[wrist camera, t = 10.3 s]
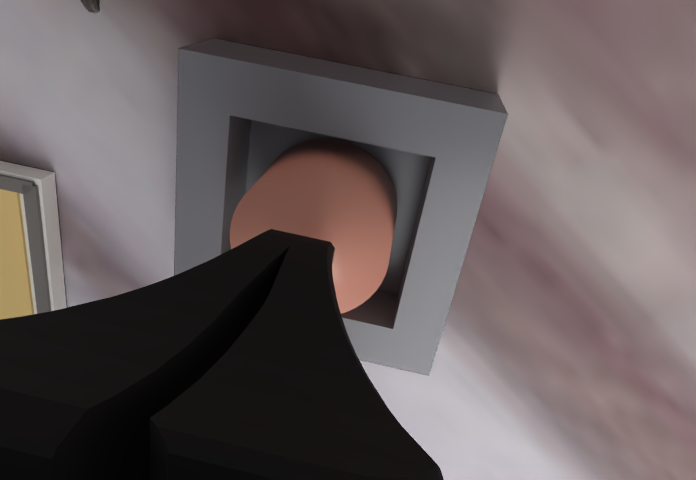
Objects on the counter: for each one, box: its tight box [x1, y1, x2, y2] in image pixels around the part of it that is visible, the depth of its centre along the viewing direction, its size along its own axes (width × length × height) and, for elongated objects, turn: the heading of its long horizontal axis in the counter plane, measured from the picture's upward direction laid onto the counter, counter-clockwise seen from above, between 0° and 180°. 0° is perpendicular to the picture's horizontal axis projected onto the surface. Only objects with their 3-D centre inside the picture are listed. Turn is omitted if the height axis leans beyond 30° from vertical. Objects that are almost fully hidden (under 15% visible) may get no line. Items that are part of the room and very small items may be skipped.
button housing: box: [174, 38, 508, 376], centre depth 14 cm, size 7×7×2 cm
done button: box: [230, 139, 397, 313], centre depth 13 cm, size 4×4×2 cm
